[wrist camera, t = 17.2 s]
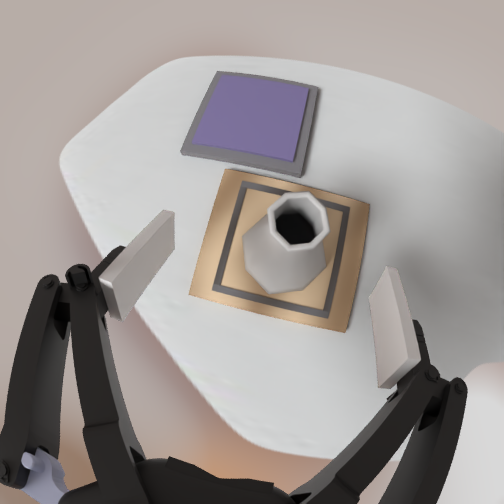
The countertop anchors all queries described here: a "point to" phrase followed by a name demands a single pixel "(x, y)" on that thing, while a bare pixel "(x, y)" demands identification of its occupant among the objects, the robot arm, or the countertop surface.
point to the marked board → (246, 287)
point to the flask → (287, 243)
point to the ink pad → (253, 122)
